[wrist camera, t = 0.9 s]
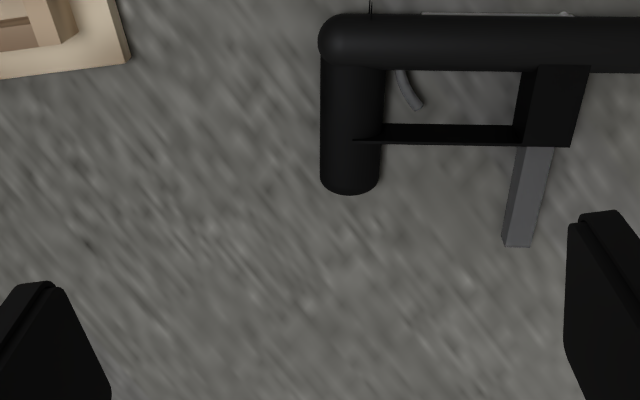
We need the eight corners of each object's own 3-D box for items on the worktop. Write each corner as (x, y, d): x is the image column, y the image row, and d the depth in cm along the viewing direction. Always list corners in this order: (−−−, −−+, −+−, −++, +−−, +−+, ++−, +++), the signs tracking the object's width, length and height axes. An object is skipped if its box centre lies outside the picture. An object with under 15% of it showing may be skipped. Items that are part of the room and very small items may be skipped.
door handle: (624, 256, 39) (714, 6, 30) (316, 250, 40) (316, 1, 31) (605, 226, 42) (683, -11, 33) (317, 221, 42) (318, -16, 33)
